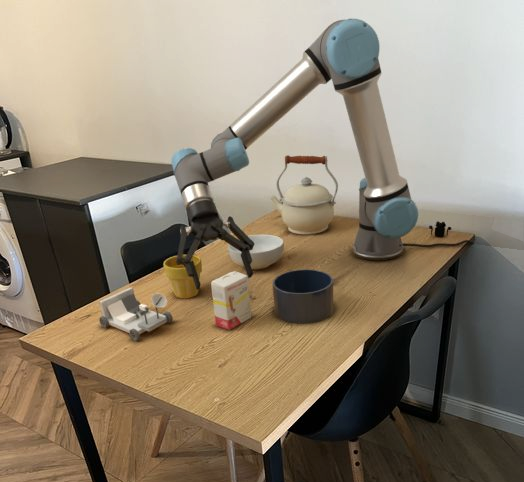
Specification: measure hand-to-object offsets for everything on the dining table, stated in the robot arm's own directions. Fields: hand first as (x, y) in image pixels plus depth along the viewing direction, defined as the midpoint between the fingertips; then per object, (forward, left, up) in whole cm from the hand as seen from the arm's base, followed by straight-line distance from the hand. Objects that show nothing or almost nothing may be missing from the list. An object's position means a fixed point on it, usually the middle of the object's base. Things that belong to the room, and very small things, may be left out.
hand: (225, 281), depth 136 cm
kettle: (-46, -52, -10) cm, 70 cm away
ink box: (0, +3, -10) cm, 11 cm away
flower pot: (+6, -20, -10) cm, 23 cm away
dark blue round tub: (-18, +6, -10) cm, 22 cm away
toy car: (+22, -7, -10) cm, 25 cm away
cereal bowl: (-19, -29, -10) cm, 36 cm away
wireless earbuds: (-79, -19, -10) cm, 82 cm away
